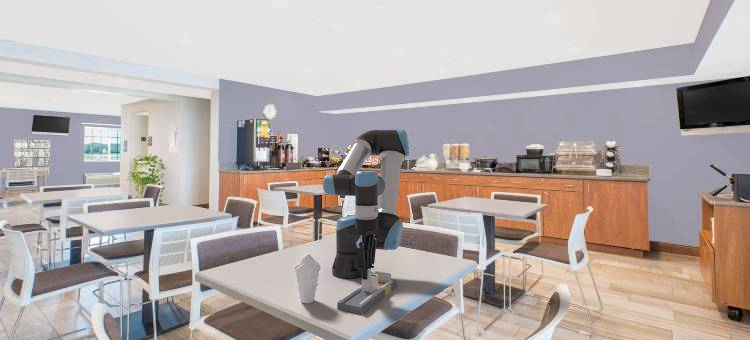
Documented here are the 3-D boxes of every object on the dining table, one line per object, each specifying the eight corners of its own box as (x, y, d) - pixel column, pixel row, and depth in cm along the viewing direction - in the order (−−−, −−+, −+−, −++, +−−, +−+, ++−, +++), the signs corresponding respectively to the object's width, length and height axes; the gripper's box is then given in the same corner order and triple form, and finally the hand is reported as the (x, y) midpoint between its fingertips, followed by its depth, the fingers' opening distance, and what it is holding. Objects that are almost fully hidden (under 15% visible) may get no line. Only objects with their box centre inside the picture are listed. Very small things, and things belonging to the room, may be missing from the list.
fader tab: (362, 291, 122) (362, 275, 122) (367, 287, 126) (367, 271, 126) (373, 293, 120) (373, 277, 120) (378, 289, 124) (378, 273, 124)
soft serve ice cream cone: (296, 296, 123) (296, 249, 122) (321, 295, 123) (321, 249, 123) (292, 306, 114) (292, 256, 114) (319, 305, 115) (319, 255, 114)
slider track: (337, 308, 113) (337, 293, 112) (374, 282, 137) (374, 269, 137) (362, 314, 109) (363, 298, 109) (396, 286, 133) (397, 272, 133)
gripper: (367, 221, 112) (367, 296, 113) (385, 215, 124) (384, 283, 125) (346, 219, 116) (346, 292, 116) (365, 213, 127) (365, 280, 128)
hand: (366, 287), depth 121 cm, fingers closed
